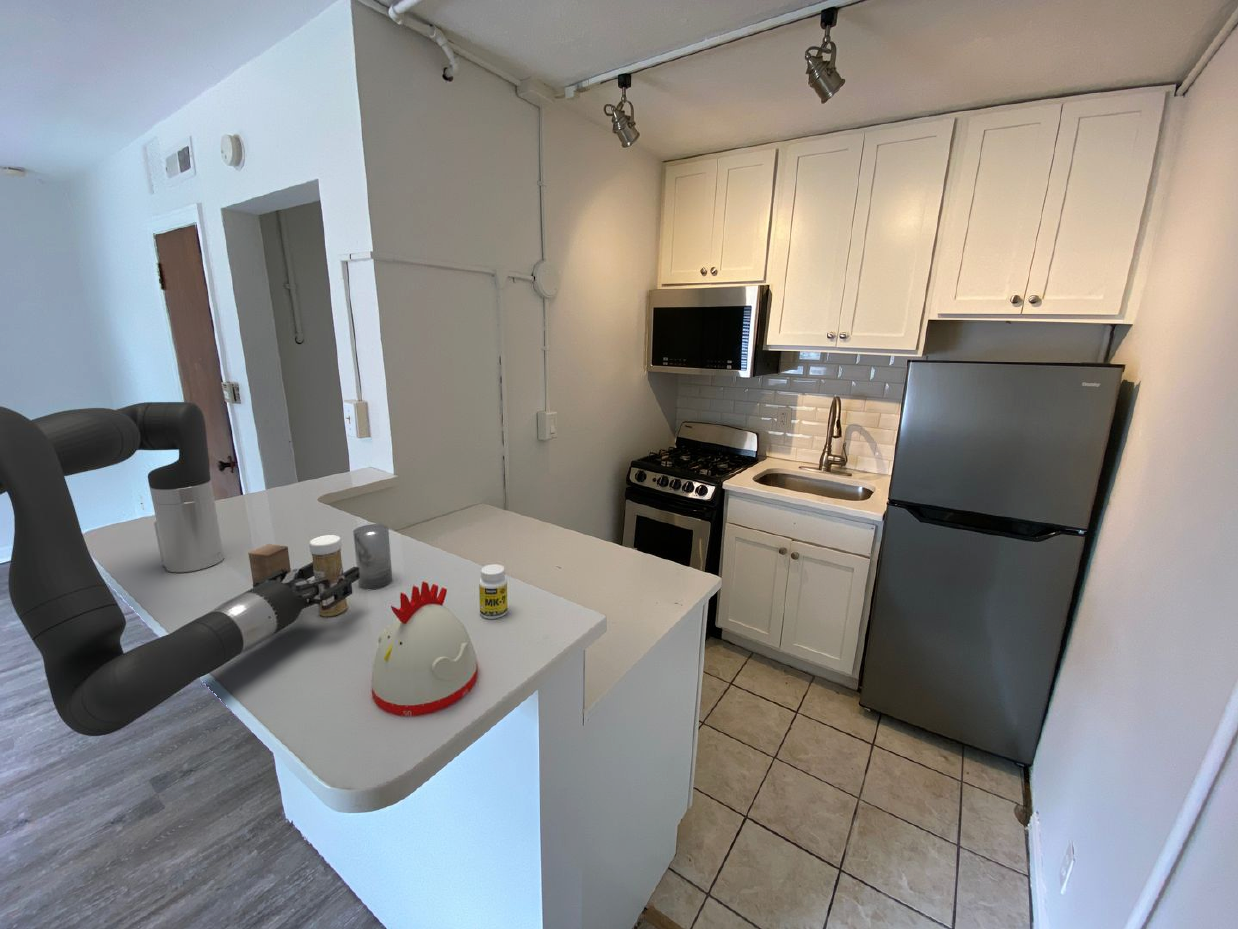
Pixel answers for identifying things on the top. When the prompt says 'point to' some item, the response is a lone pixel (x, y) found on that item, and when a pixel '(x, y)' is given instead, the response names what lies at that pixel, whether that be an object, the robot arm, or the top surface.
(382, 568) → the grey metal tin
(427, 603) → the kitchen timer
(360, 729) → the top surface
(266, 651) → the top surface
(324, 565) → the sprinkles bottle
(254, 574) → the walnut block
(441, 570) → the top surface
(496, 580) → the supplement bottle
